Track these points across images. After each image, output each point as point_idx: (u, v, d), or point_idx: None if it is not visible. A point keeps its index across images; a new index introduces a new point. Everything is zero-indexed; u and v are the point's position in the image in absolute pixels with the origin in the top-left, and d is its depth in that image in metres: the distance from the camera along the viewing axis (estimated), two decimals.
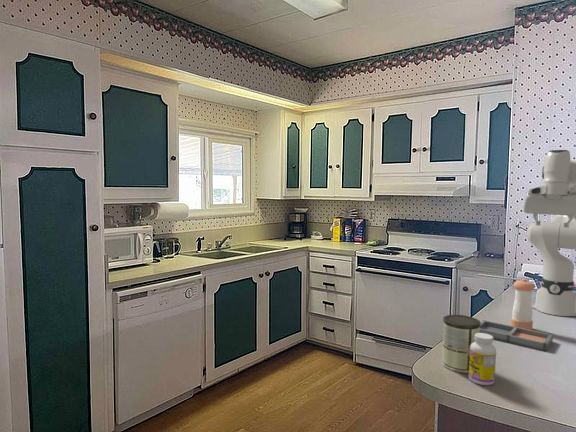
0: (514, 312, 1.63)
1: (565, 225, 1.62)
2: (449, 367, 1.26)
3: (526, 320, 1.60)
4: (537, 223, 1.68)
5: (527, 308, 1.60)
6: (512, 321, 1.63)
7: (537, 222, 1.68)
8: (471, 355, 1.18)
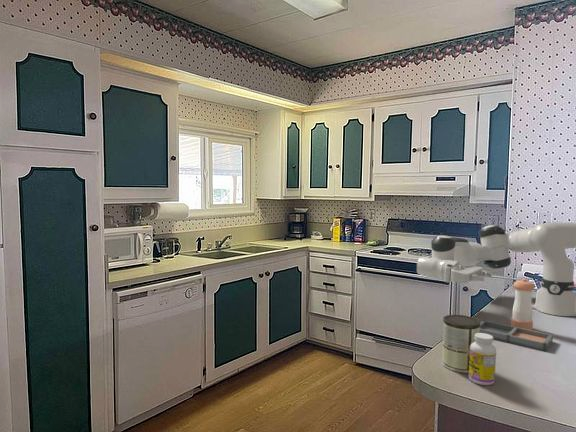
0: (514, 312, 1.63)
1: (489, 273, 1.75)
2: (449, 367, 1.26)
3: (526, 320, 1.60)
4: (482, 276, 1.68)
5: (527, 308, 1.60)
6: (512, 321, 1.63)
7: (481, 276, 1.68)
8: (471, 355, 1.18)
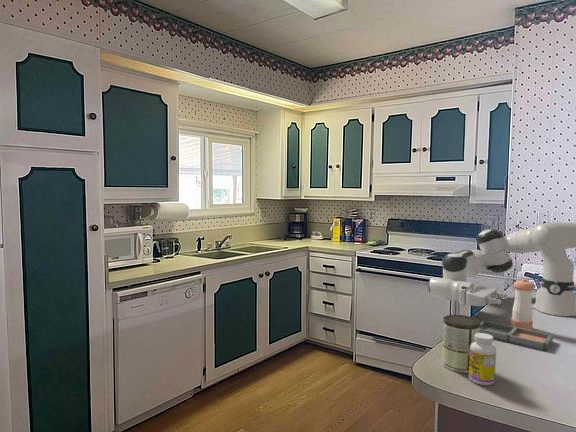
0: (514, 312, 1.63)
1: (504, 294, 1.71)
2: (449, 367, 1.26)
3: (526, 320, 1.60)
4: (498, 299, 1.64)
5: (527, 308, 1.60)
6: (512, 321, 1.63)
7: (497, 299, 1.64)
8: (471, 355, 1.18)
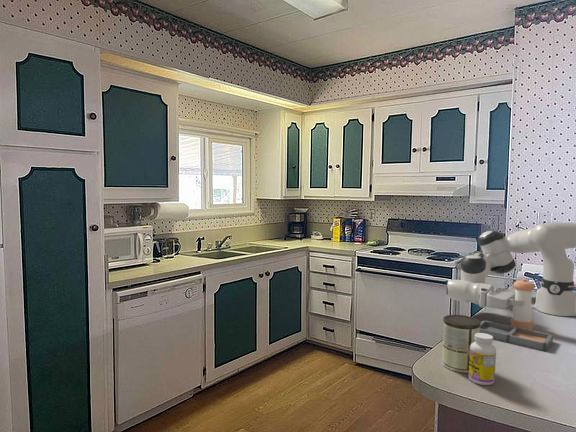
0: (514, 312, 1.63)
1: None
2: (449, 367, 1.26)
3: (526, 320, 1.60)
4: None
5: (527, 308, 1.60)
6: (512, 321, 1.63)
7: (520, 300, 1.60)
8: (471, 355, 1.18)
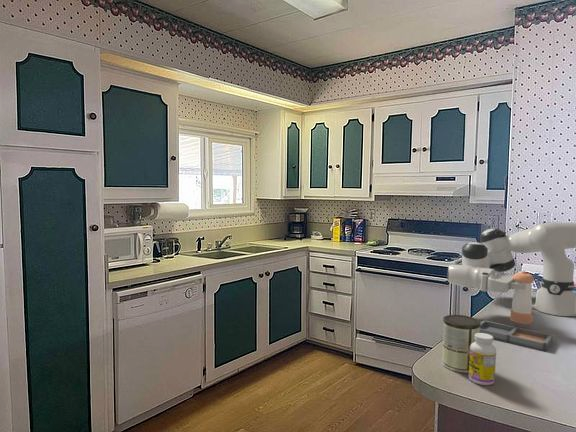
0: (514, 304, 1.63)
1: None
2: (449, 367, 1.26)
3: (526, 312, 1.60)
4: (522, 284, 1.60)
5: (527, 300, 1.60)
6: (512, 313, 1.63)
7: (521, 284, 1.60)
8: (471, 355, 1.18)
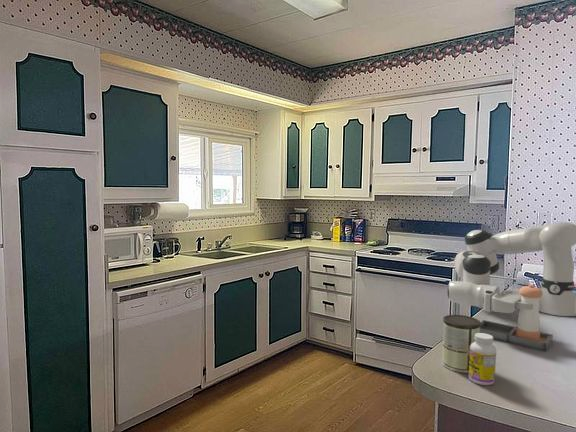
0: (520, 321, 1.49)
1: None
2: (449, 367, 1.26)
3: (533, 330, 1.46)
4: (530, 304, 1.46)
5: (534, 317, 1.46)
6: (518, 331, 1.49)
7: None
8: (471, 355, 1.18)
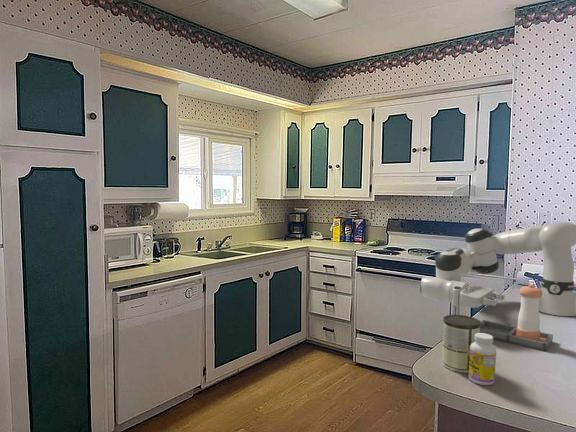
0: (520, 321, 1.49)
1: (501, 295, 1.58)
2: (449, 367, 1.26)
3: (533, 330, 1.46)
4: (494, 300, 1.51)
5: (534, 317, 1.46)
6: (518, 331, 1.49)
7: (493, 300, 1.52)
8: (471, 355, 1.18)
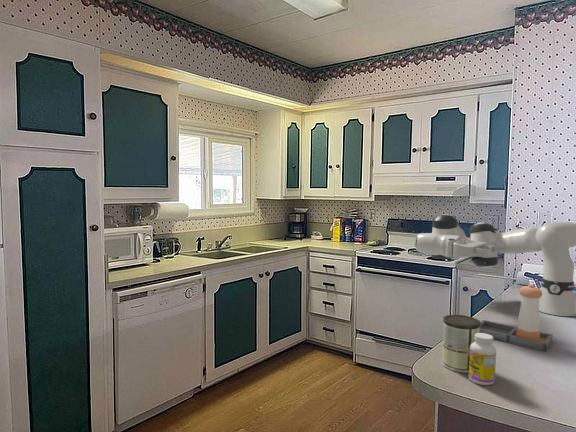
0: (520, 321, 1.49)
1: (494, 247, 1.63)
2: (449, 367, 1.26)
3: (533, 330, 1.46)
4: (486, 249, 1.56)
5: (534, 317, 1.46)
6: (518, 331, 1.49)
7: (485, 249, 1.56)
8: (471, 355, 1.18)
